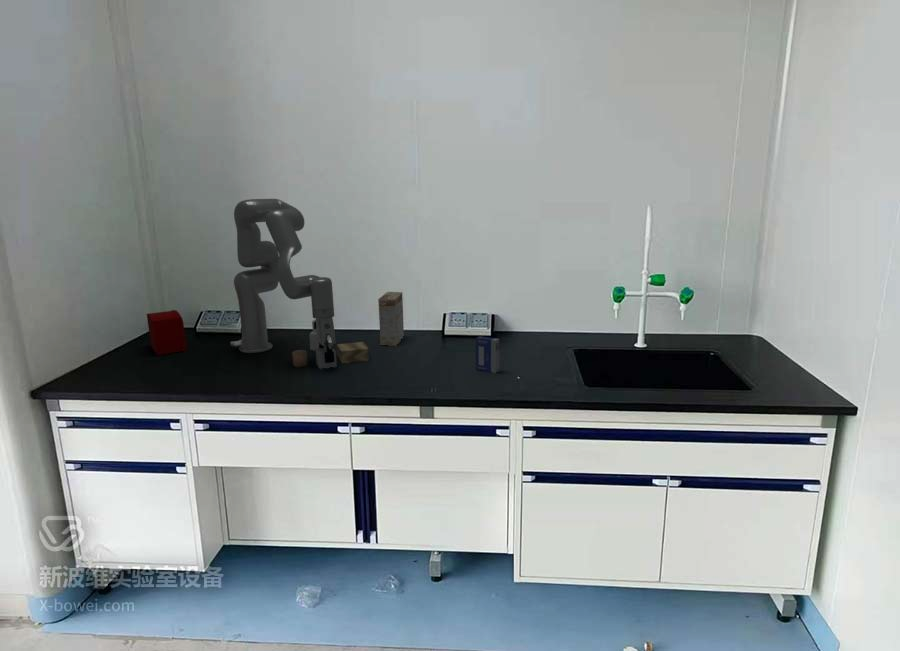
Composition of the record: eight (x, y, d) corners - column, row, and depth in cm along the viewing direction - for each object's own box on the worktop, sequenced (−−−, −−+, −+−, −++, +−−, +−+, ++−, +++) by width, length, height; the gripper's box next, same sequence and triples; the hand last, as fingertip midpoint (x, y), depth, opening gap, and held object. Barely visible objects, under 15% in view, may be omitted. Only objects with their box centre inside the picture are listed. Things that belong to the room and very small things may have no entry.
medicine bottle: (333, 346, 232) (331, 317, 229) (327, 351, 225) (325, 321, 223) (316, 345, 233) (314, 317, 230) (310, 350, 226) (308, 321, 223)
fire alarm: (187, 351, 227) (182, 315, 223) (157, 356, 221) (152, 318, 217) (179, 342, 240) (175, 307, 236) (151, 347, 234) (146, 311, 230)
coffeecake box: (388, 336, 246) (386, 291, 242) (404, 336, 246) (403, 291, 241) (379, 345, 232) (377, 298, 227) (396, 346, 231) (395, 299, 226)
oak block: (342, 364, 210) (341, 351, 209) (337, 357, 219) (336, 344, 218) (369, 361, 213) (368, 348, 212) (363, 354, 222) (363, 341, 221)
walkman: (475, 370, 201) (475, 337, 198) (479, 367, 204) (479, 335, 201) (496, 373, 197) (496, 339, 194) (499, 371, 200) (499, 337, 197)
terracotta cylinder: (294, 368, 206) (293, 354, 204) (292, 364, 210) (291, 351, 209) (308, 366, 208) (307, 352, 206) (306, 362, 212) (305, 349, 211)
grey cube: (320, 369, 204) (318, 353, 202) (316, 364, 209) (315, 349, 208) (336, 367, 206) (335, 351, 205) (332, 362, 212) (332, 346, 210)
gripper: (339, 316, 197) (342, 363, 201) (328, 307, 212) (331, 351, 216) (317, 318, 194) (321, 366, 198) (308, 309, 209) (311, 354, 213)
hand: (326, 358), depth 207 cm, fingers open, 9 cm apart
